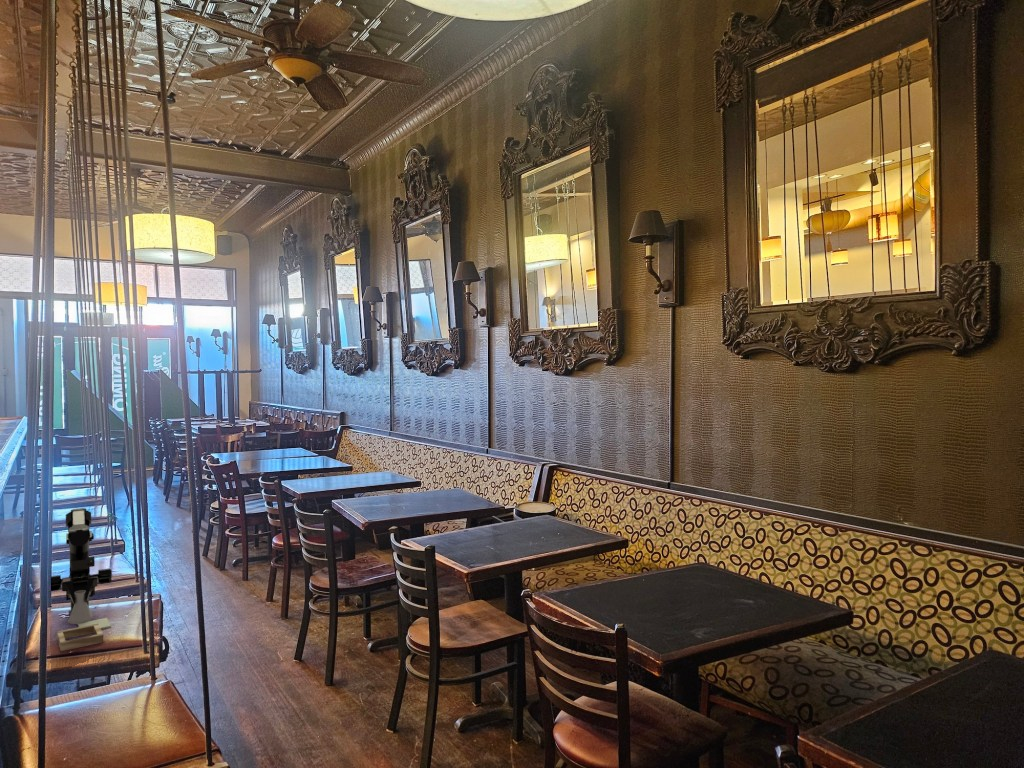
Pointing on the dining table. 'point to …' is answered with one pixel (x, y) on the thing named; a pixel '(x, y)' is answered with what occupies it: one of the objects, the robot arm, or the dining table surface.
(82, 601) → the flask
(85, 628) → the oak cradle
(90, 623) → the sage pad
